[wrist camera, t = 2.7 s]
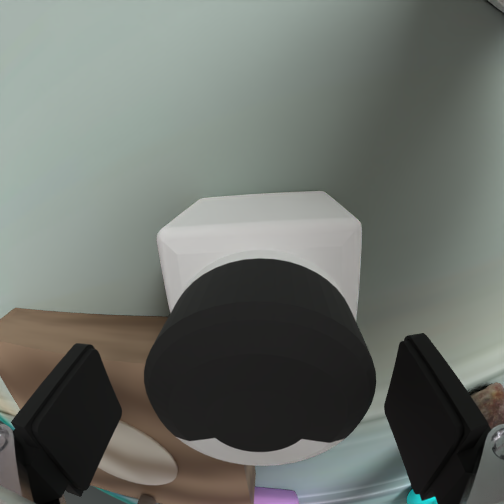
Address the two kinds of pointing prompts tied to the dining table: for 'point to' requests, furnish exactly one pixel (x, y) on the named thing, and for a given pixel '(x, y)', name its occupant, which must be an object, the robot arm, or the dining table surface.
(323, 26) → the dining table surface
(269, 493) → the teapot
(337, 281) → the medicine bottle
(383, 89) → the dining table surface
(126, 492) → the stand
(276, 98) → the dining table surface
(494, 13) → the dining table surface
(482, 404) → the brown rusty cylinder
